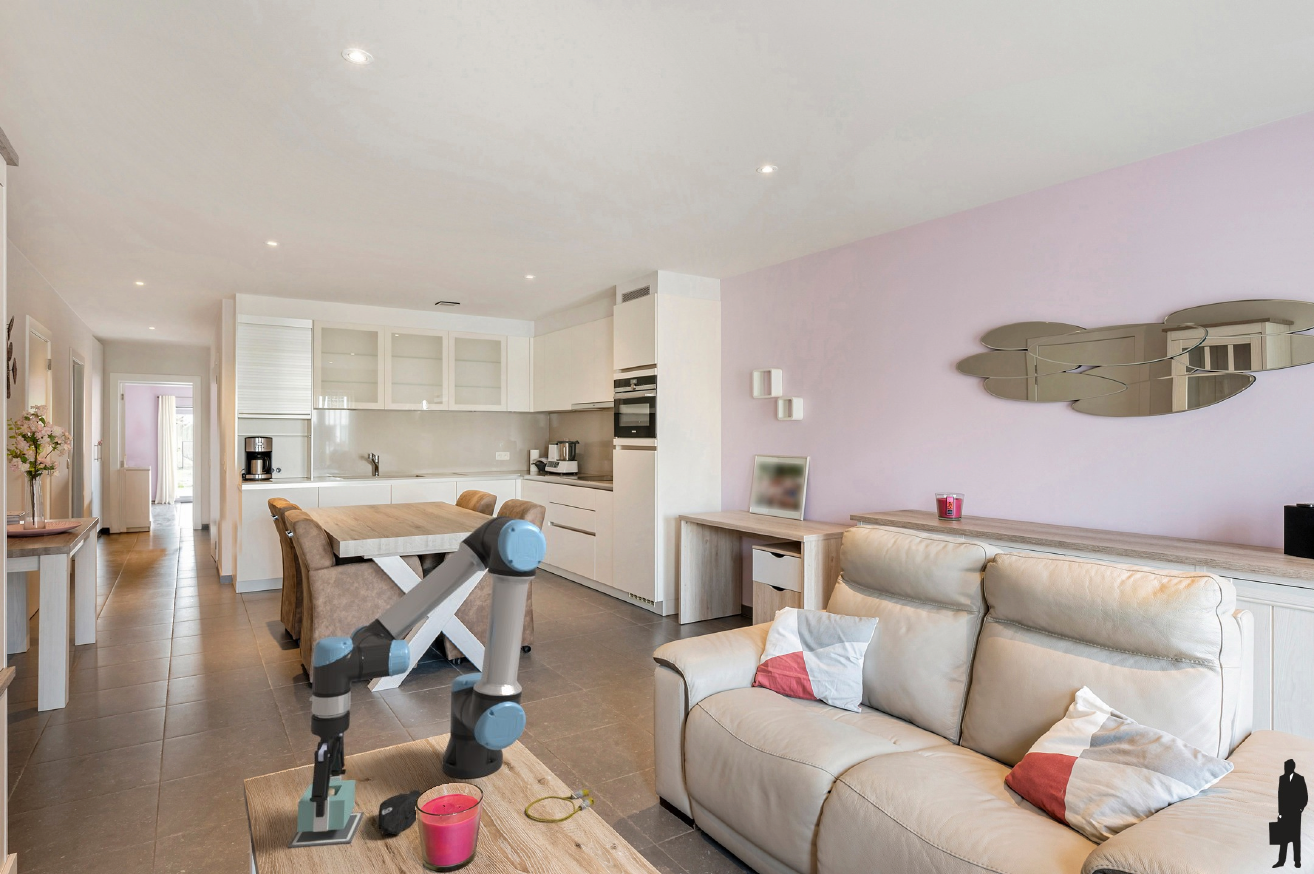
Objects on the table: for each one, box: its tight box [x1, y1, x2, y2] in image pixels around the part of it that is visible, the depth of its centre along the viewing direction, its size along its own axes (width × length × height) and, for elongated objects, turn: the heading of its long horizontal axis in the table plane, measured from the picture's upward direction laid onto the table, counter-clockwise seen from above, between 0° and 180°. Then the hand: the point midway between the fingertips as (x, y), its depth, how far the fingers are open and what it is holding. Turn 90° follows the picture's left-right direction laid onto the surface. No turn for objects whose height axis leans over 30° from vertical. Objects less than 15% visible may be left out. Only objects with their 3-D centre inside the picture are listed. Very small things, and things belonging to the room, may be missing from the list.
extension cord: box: [525, 788, 596, 824], centre depth 162 cm, size 12×16×2 cm
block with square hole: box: [296, 779, 356, 833], centre depth 151 cm, size 9×9×6 cm
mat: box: [287, 811, 365, 849], centre depth 151 cm, size 12×12×1 cm
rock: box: [377, 789, 422, 835], centre depth 153 cm, size 10×9×6 cm
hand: (327, 817), depth 151 cm, fingers closed on block with square hole, 9 cm apart
